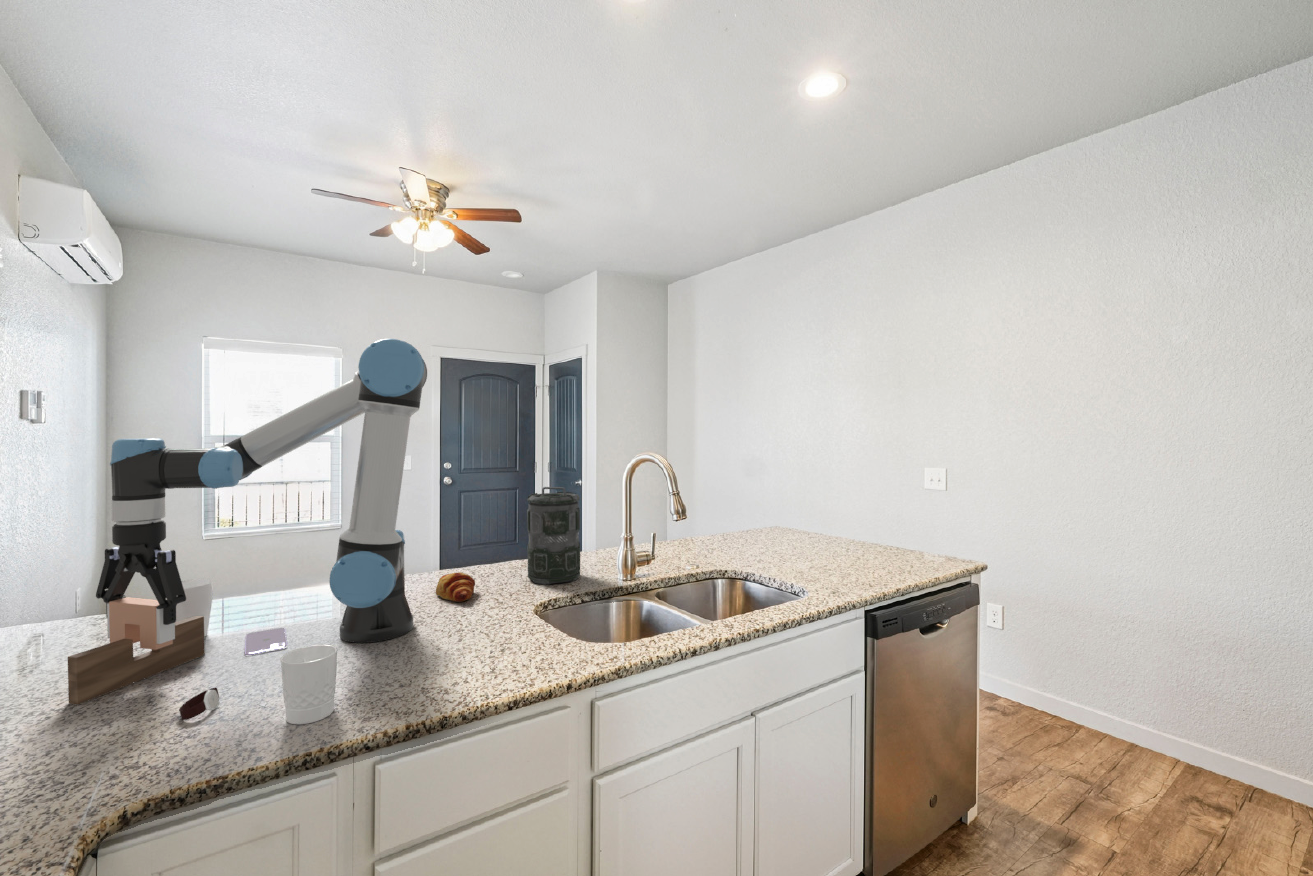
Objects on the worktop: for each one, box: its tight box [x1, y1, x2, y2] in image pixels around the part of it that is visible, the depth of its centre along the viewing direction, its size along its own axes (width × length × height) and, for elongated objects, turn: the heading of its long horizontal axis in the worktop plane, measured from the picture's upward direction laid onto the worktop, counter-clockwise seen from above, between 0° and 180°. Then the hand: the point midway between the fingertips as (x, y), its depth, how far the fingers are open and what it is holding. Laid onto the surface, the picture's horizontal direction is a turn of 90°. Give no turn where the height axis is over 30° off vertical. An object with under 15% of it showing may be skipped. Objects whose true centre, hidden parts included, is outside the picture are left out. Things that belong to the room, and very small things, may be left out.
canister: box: [526, 486, 581, 586], centre depth 180 cm, size 16×16×28 cm
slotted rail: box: [67, 616, 206, 706], centre depth 110 cm, size 2×22×8 cm, turn 167°
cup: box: [166, 578, 214, 638], centre depth 131 cm, size 9×9×12 cm
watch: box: [178, 687, 220, 721], centre depth 98 cm, size 8×5×4 cm, turn 13°
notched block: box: [109, 596, 173, 650], centre depth 110 cm, size 11×3×8 cm, turn 77°
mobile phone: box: [244, 627, 288, 656], centre depth 128 cm, size 8×1×15 cm
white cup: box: [280, 644, 338, 725], centre depth 96 cm, size 8×8×10 cm
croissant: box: [435, 571, 476, 603], centre depth 163 cm, size 21×10×8 cm, turn 33°
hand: (141, 638), depth 110 cm, fingers closed on notched block, 11 cm apart
